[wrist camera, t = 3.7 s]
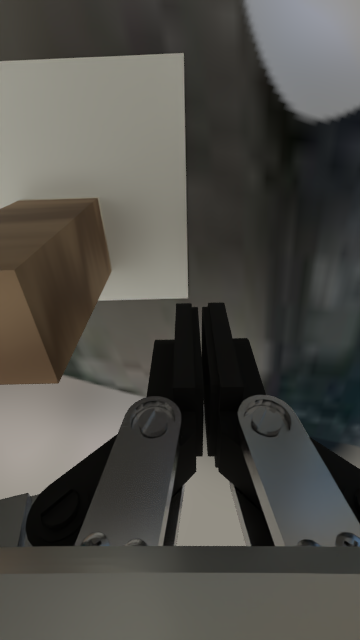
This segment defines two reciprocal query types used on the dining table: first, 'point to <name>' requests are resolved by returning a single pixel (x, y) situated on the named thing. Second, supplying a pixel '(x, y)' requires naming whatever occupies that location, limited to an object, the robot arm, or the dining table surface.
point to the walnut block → (48, 283)
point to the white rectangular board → (105, 157)
